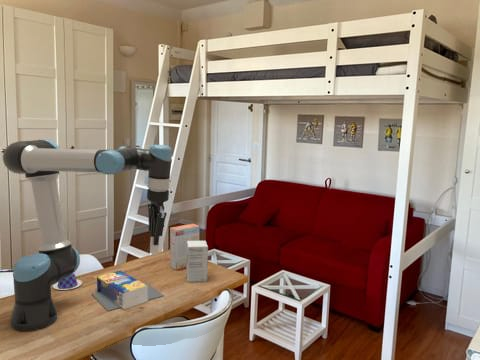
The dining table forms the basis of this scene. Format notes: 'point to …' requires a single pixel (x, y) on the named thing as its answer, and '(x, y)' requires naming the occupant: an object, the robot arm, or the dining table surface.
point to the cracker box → (181, 244)
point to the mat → (112, 305)
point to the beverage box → (122, 289)
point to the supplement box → (197, 261)
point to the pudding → (68, 283)
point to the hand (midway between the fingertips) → (153, 252)
